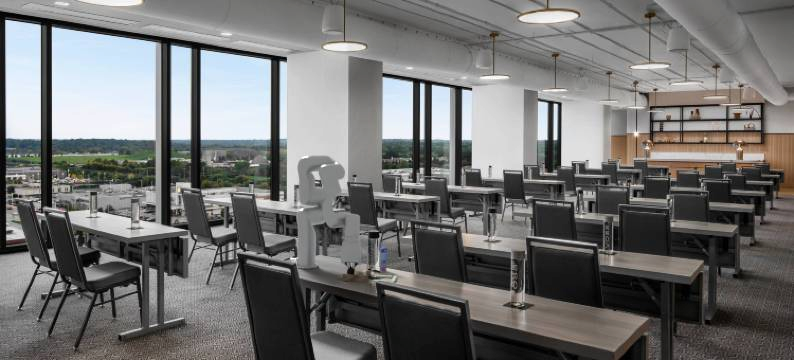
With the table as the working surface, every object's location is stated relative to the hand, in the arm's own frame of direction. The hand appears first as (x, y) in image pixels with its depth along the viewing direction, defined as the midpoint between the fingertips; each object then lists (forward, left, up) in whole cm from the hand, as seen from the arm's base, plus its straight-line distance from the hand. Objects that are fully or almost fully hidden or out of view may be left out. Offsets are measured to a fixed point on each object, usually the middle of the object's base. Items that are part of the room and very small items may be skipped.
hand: (351, 275), depth 288 cm
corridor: (+3, 0, -1) cm, 3 cm away
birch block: (+5, 0, -1) cm, 5 cm away
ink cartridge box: (+10, +20, -2) cm, 22 cm away
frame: (+17, 0, -1) cm, 17 cm away
